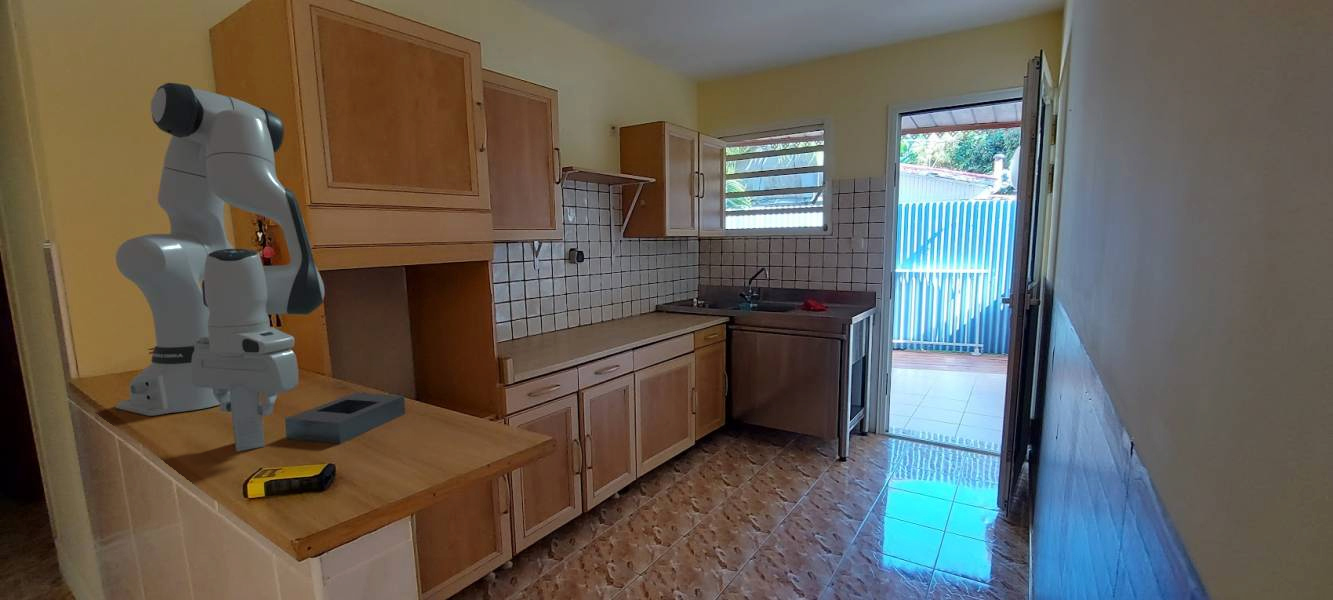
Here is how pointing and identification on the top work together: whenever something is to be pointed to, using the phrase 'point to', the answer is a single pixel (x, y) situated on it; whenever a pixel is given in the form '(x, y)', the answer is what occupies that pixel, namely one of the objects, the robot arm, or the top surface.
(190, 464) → the top surface
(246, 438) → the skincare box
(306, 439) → the grey slotted block
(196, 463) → the top surface
